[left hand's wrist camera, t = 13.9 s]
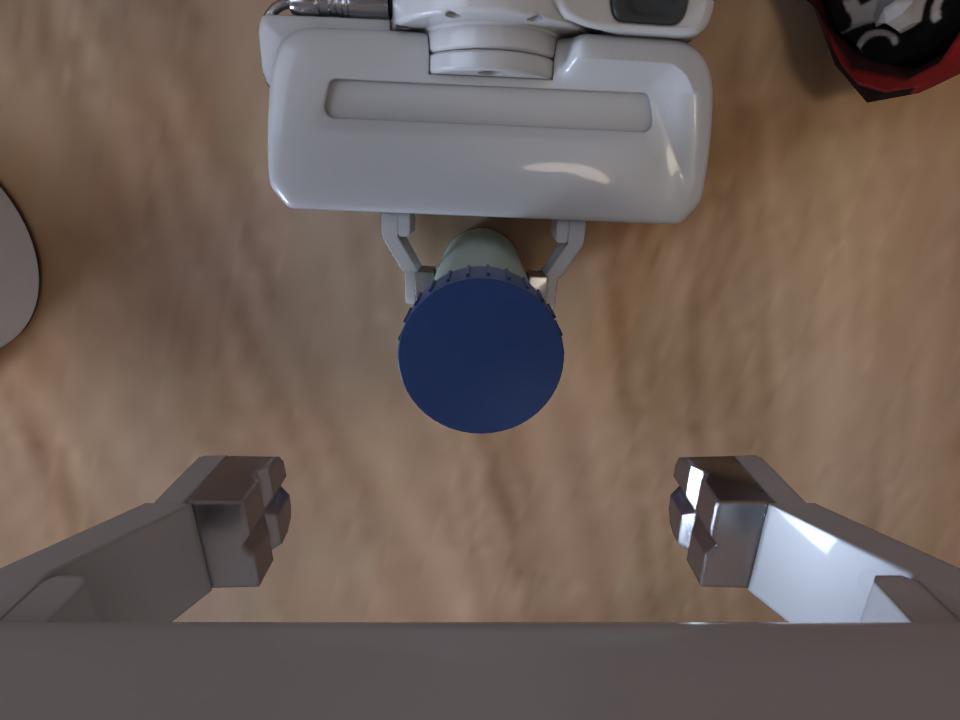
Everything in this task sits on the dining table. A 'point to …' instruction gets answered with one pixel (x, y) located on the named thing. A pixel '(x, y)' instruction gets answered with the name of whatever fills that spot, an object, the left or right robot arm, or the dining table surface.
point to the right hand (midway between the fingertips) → (480, 304)
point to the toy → (892, 43)
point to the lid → (480, 350)
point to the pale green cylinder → (480, 253)
